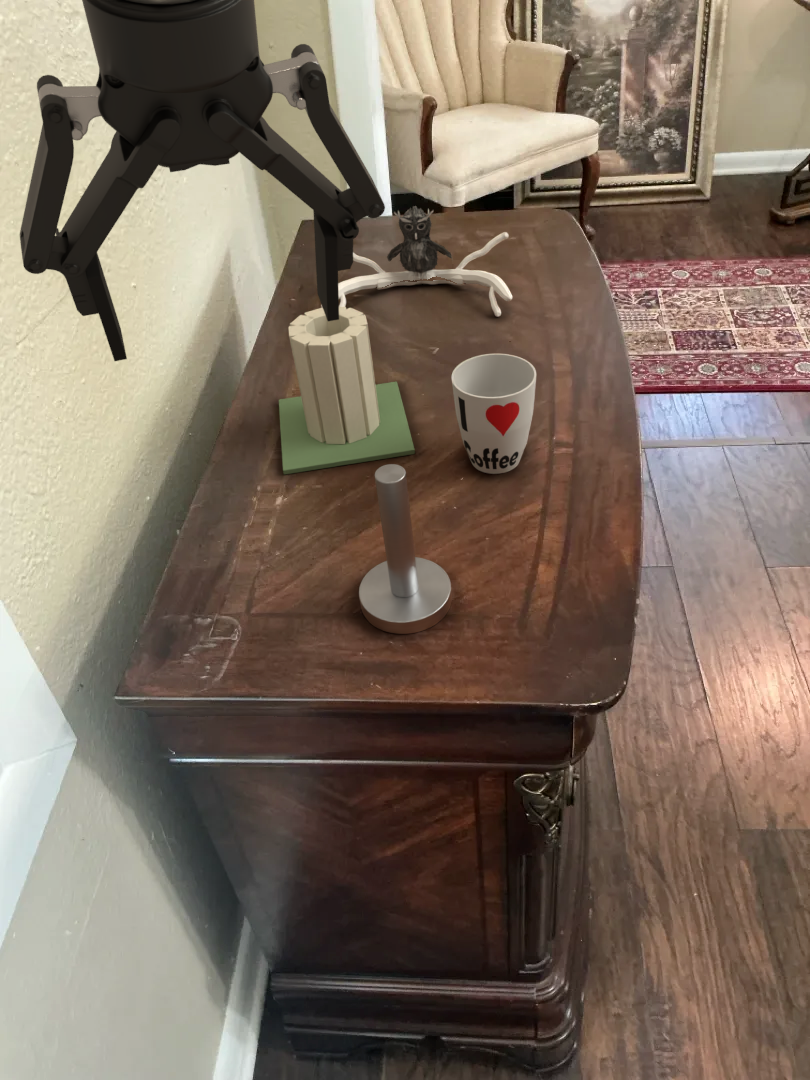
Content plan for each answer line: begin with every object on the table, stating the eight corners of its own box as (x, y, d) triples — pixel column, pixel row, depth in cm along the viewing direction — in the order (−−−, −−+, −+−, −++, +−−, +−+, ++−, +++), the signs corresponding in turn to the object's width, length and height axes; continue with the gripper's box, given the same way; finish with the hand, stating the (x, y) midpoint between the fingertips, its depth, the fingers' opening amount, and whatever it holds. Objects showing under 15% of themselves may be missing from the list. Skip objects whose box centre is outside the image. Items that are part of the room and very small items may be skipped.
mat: (283, 474, 91) (282, 470, 90) (279, 403, 101) (278, 399, 101) (415, 454, 91) (414, 449, 91) (397, 385, 102) (396, 381, 101)
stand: (365, 641, 72) (343, 514, 63) (356, 576, 78) (334, 451, 69) (459, 625, 73) (450, 496, 63) (443, 561, 79) (432, 435, 69)
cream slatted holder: (310, 449, 93) (290, 350, 85) (305, 408, 99) (286, 312, 91) (383, 438, 93) (370, 338, 85) (375, 398, 99) (362, 301, 91)
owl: (511, 262, 121) (511, 188, 110) (512, 338, 115) (512, 267, 104) (336, 271, 124) (319, 199, 113) (328, 345, 118) (309, 277, 107)
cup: (445, 475, 88) (439, 391, 81) (471, 431, 93) (467, 348, 87) (522, 489, 85) (522, 403, 79) (544, 442, 91) (546, 358, 84)
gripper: (-148, 41, 33) (29, 407, 51) (461, -24, 38) (427, 330, 56) (-145, -51, 37) (18, 320, 55) (409, -100, 42) (393, 255, 60)
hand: (225, 325), depth 56 cm, fingers open, 13 cm apart
